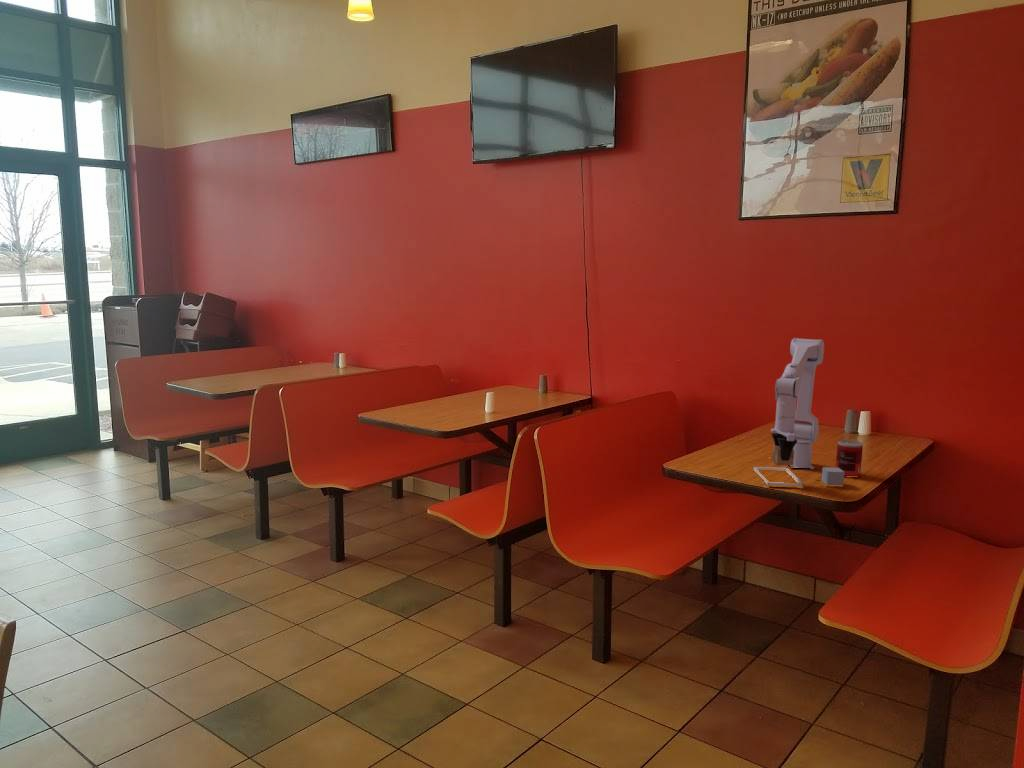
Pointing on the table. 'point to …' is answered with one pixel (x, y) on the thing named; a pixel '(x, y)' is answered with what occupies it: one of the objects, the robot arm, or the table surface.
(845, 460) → the canned food
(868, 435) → the table surface
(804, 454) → the robot arm
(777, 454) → the translucent beige cube
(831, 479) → the slate-blue block
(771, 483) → the white flat frame
